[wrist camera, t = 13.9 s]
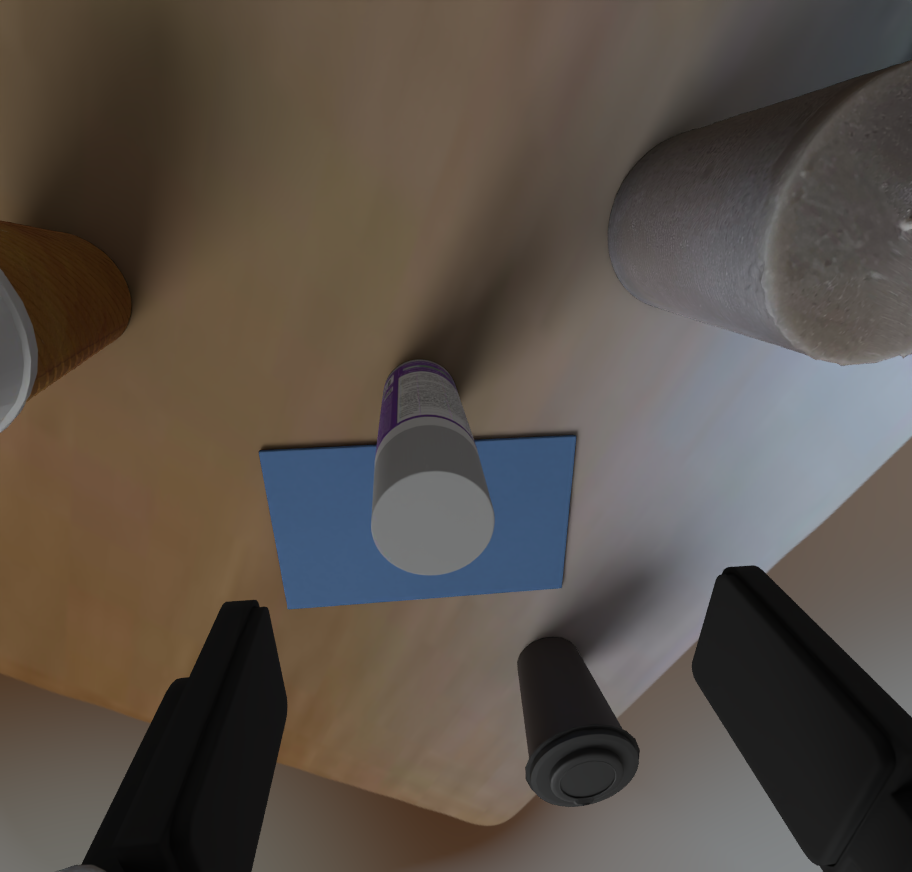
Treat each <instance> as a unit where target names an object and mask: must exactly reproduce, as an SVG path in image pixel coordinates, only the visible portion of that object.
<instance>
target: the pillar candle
mask: <svg viewBox="0 0 912 872" xmlns="http://www.w3.org/2000/svg"><path fill="white" fill-rule="evenodd" d="M608 246H609V255H610V259H611V262H612V266H613V268H614V271H615V273H616V275H617V277H618V279H619V280H620V282H621V283H622V285H623V286H624V287H625V288H626V289H627V290H628V291H629V292H630V293H631V294H632V295H633V296H634V297H636V298H637V299H639V300H641V301H642V302H644V303H646V304H648V305H651V306H654V307H657V308H660V309H663V310H666V311H668V312H672V313H675V314H678V315H681V316H684V317H687V318H690V319H693V320H696V321H699V322H703V323H707V324H710V325H713V326H716V327H720V328H723V329H726V330H729V331H732V332H736V333H739V334H743V335H745V336H749V337H752V338H755V339H759V340H761V341H765V342H768V343H772V344H775V345H778V346H781V347H784V348H786V349H790V350H793V351H796V352H799V353H803V354H805V355H808V356H810V357H811V358H813V359H815V360H823V361H827V362H832V363H837V364H839V365H841V366H845V365H854V364H858V365H859V364H864V363H866V364H867V363H877V362H880V361H883V360H886V359H890V358H893V357H896V356H898V355H900V356H902V357H903V359H904V357H906V356H907V355H909V354H912V60H910V61H907V62H904V63H901V64H896V65H893V66H890V67H888V68H885V69H882V70H878V71H875V72H872V73H868V74H865V75H862V76H859V77H855V78H852V79H850V80H847V81H844V82H841V83H837V84H835V85H832V86H829V87H826V88H823V89H820V90H817V91H814V92H810V93H807V94H804V95H802V96H799V97H795V98H792V99H788V100H785V101H782V102H779V103H776V104H773V105H770V106H766V107H764V108H760V109H757V110H753V111H750V112H747V113H743V114H739V115H737V116H734V117H730V118H728V119H725V120H722V121H718V122H715V123H713V124H710V125H708V126H705V127H701V128H698V129H692V130H690V131H687V132H684V133H680V134H678V135H676V136H674V137H672V138H669V139H667V140H666V141H664V142H662V143H660V144H659V145H657V146H656V147H654V148H653V149H652V150H650V151H649V152H648V153H647V154H646V155H645V156H644V157H643V158H642V159H641V160H640V161H639V162H638V163H637V164H636V165H635V166H634V167H633V169H632V170H631V171H630V173H629V174H628V175H627V177H626V178H625V180H624V181H623V183H622V185H621V187H620V189H619V191H618V193H617V195H616V198H615V201H614V204H613V206H612V210H611V214H610V219H609V227H608Z"/></svg>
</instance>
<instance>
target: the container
mask: <svg viewBox="0 0 912 872" xmlns="http://www.w3.org/2000/svg"><path fill="white" fill-rule="evenodd" d="M494 524H495V516H494V510H493V506H492V502H491V499H490V495H489V491H488V488H487V484H486V480H485V477H484V473H483V470H482V466H481V462H480V459H479V455H478V451H477V447H476V445H475V442H474V439H473V436H472V433H471V430H470V427H469V424H468V421H467V418H466V415H465V412H464V409H463V406H462V403H461V401H460V398H459V395H458V392H457V389H456V386H455V383H454V381H453V379H452V377H451V375H450V374H449V373H448V372H447V370H446V369H444V368H443V367H442V366H440V365H439V364H437V363H435V362H432V361H429V360H420V359H419V360H411V361H408V362H405V363H403V364H401V365H399V366H398V367H397V368H395V369H394V370H393V371H392V373H391V374H390V375H389V377H388V378H387V381H386V383H385V386H384V391H383V399H382V407H381V415H380V423H379V431H378V439H377V447H376V455H375V469H374V485H373V501H372V517H371V531H372V536H373V539H374V542H375V544H376V546H377V548H378V550H379V551H380V553H381V554H382V555H383V556H384V557H385V558H386V559H387V560H388V561H389V562H390V563H392V564H393V565H395V566H396V567H398V568H400V569H402V570H405V571H407V572H410V573H414V574H419V575H441V574H446V573H450V572H453V571H456V570H459V569H461V568H463V567H465V566H466V565H468V564H470V563H471V562H472V561H474V560H475V559H476V558H477V557H478V556H479V555H480V554H481V553H482V552H483V551H484V549H485V548H486V547H487V545H488V543H489V541H490V539H491V537H492V534H493V530H494Z"/></svg>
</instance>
